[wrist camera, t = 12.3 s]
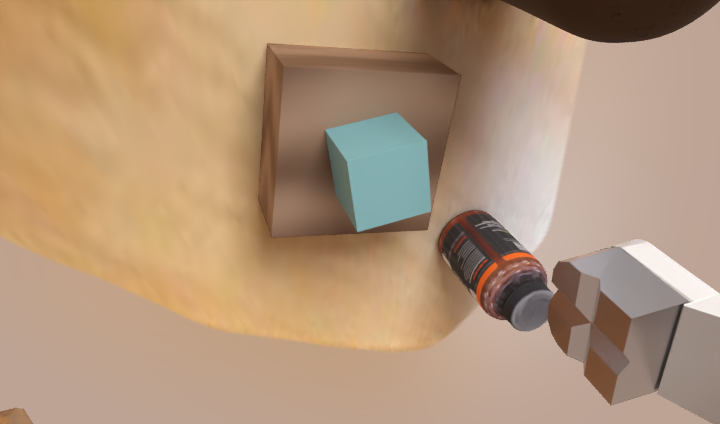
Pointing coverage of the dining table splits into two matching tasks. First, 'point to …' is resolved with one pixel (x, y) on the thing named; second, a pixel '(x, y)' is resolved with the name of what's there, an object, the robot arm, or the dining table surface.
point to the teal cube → (379, 170)
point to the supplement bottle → (496, 270)
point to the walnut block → (336, 108)
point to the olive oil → (616, 17)
